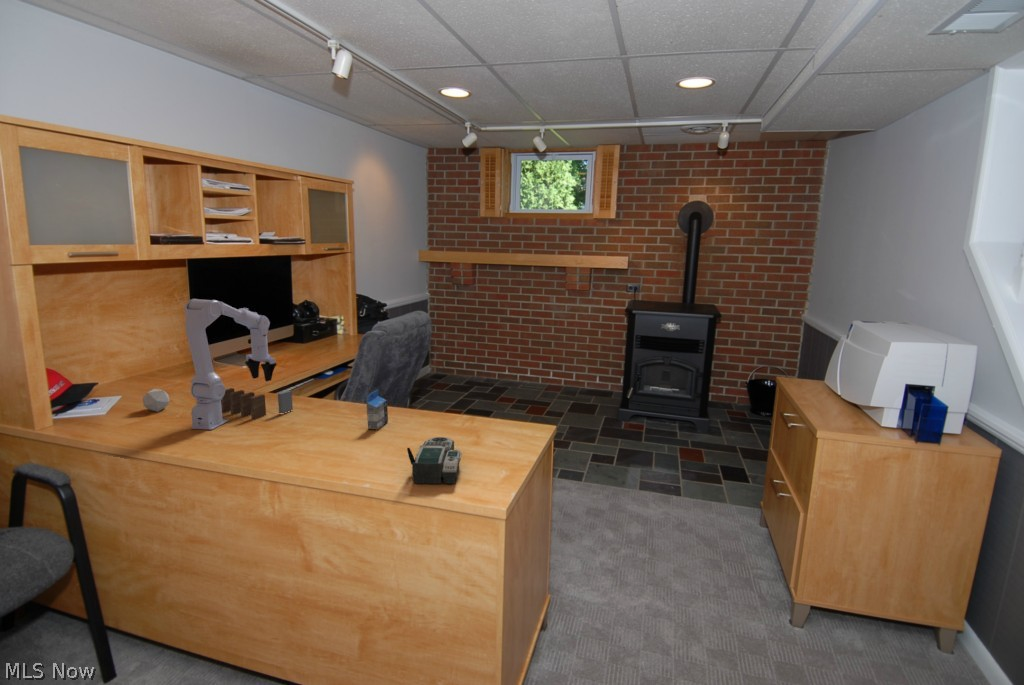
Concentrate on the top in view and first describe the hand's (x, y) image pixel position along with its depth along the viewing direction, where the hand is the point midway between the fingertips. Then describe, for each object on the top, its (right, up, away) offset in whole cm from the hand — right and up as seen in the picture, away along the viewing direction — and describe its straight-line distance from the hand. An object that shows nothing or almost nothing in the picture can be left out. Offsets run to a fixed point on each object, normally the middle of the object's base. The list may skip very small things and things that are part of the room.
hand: (261, 379), depth 208 cm
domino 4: (+5, -13, -13) cm, 19 cm away
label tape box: (+51, -15, -20) cm, 57 cm away
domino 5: (+13, -12, -8) cm, 19 cm away
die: (-36, -11, -7) cm, 39 cm away
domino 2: (-5, -12, -9) cm, 15 cm away
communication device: (+77, -22, -51) cm, 95 cm away
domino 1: (-10, -11, -6) cm, 16 cm away
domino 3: (0, -12, -11) cm, 17 cm away
